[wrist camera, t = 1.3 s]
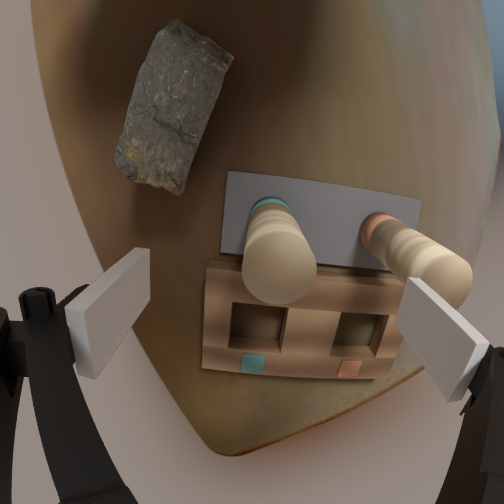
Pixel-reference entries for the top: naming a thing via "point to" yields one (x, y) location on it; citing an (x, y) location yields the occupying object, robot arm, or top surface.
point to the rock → (171, 107)
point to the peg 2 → (416, 257)
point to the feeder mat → (314, 215)
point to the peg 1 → (276, 254)
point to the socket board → (303, 327)
